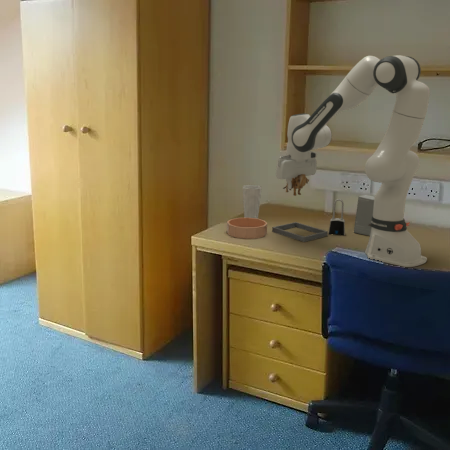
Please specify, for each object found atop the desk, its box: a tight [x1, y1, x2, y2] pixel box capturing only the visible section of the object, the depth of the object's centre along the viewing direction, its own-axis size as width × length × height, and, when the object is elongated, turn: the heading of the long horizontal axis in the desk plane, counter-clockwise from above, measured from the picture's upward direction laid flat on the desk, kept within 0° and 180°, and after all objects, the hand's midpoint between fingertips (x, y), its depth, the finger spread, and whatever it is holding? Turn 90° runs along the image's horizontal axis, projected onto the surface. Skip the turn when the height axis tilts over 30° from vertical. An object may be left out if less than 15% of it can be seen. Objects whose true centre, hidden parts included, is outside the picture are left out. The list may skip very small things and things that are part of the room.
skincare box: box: [353, 194, 375, 237], centre depth 244 cm, size 8×7×16 cm
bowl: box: [226, 217, 268, 240], centre depth 242 cm, size 16×16×4 cm
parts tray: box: [271, 221, 329, 243], centre depth 243 cm, size 18×14×2 cm
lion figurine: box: [282, 174, 310, 197], centre depth 239 cm, size 15×5×9 cm, turn 32°
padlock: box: [328, 198, 346, 236], centre depth 242 cm, size 7×4×15 cm, turn 78°
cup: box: [242, 184, 262, 219], centre depth 260 cm, size 8×8×16 cm
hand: (295, 187), depth 238 cm, fingers closed on lion figurine, 4 cm apart
